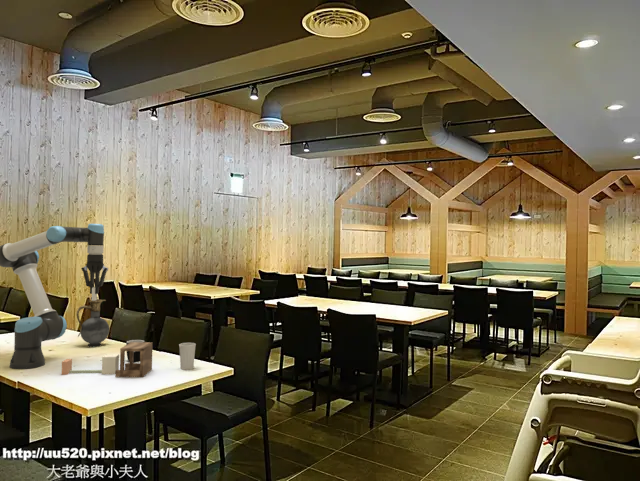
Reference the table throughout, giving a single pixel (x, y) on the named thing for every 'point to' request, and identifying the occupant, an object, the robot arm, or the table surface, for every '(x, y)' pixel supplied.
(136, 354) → the mug
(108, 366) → the mismatched dumbbell
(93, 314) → the pitcher
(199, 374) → the table surface
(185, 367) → the cup
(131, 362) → the cubby
